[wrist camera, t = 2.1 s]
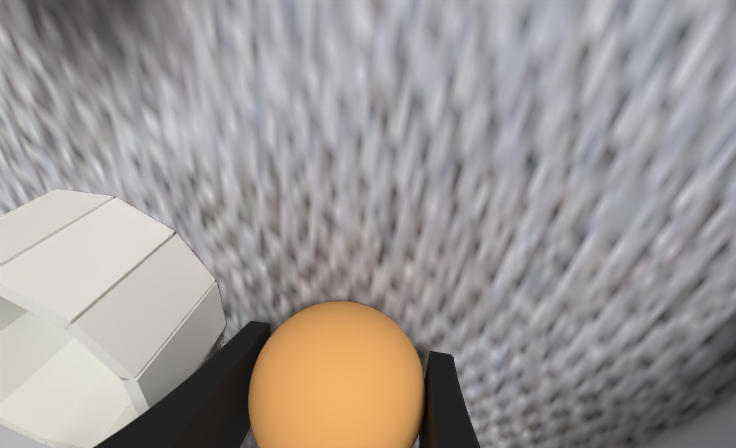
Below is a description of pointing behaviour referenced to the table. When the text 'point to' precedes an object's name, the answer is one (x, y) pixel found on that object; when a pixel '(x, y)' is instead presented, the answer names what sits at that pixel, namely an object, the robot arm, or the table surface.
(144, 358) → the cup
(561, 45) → the table surface
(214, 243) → the table surface
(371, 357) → the ball
